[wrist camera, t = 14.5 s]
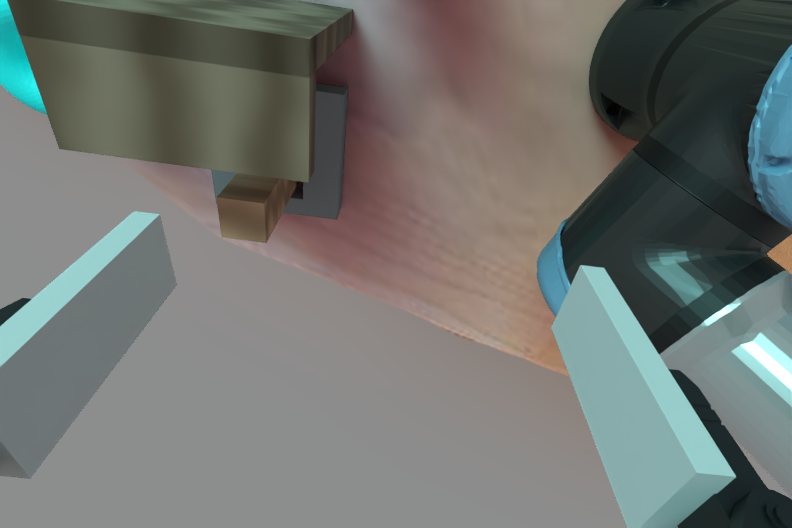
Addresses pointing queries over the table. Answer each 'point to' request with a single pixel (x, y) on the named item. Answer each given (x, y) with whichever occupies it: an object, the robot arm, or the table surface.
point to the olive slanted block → (184, 78)
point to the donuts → (16, 63)
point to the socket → (317, 159)
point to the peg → (252, 206)
